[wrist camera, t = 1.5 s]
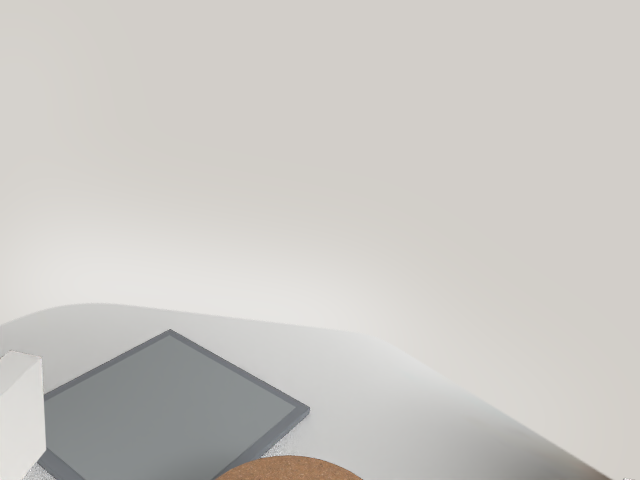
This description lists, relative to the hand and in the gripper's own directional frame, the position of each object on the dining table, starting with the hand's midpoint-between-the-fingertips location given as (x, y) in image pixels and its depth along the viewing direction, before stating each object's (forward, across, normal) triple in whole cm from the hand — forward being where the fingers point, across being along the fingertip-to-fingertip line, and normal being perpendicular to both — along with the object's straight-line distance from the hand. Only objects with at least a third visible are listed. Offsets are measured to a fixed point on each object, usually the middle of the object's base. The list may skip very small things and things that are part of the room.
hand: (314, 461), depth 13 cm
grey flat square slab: (+23, -12, -21) cm, 33 cm away
